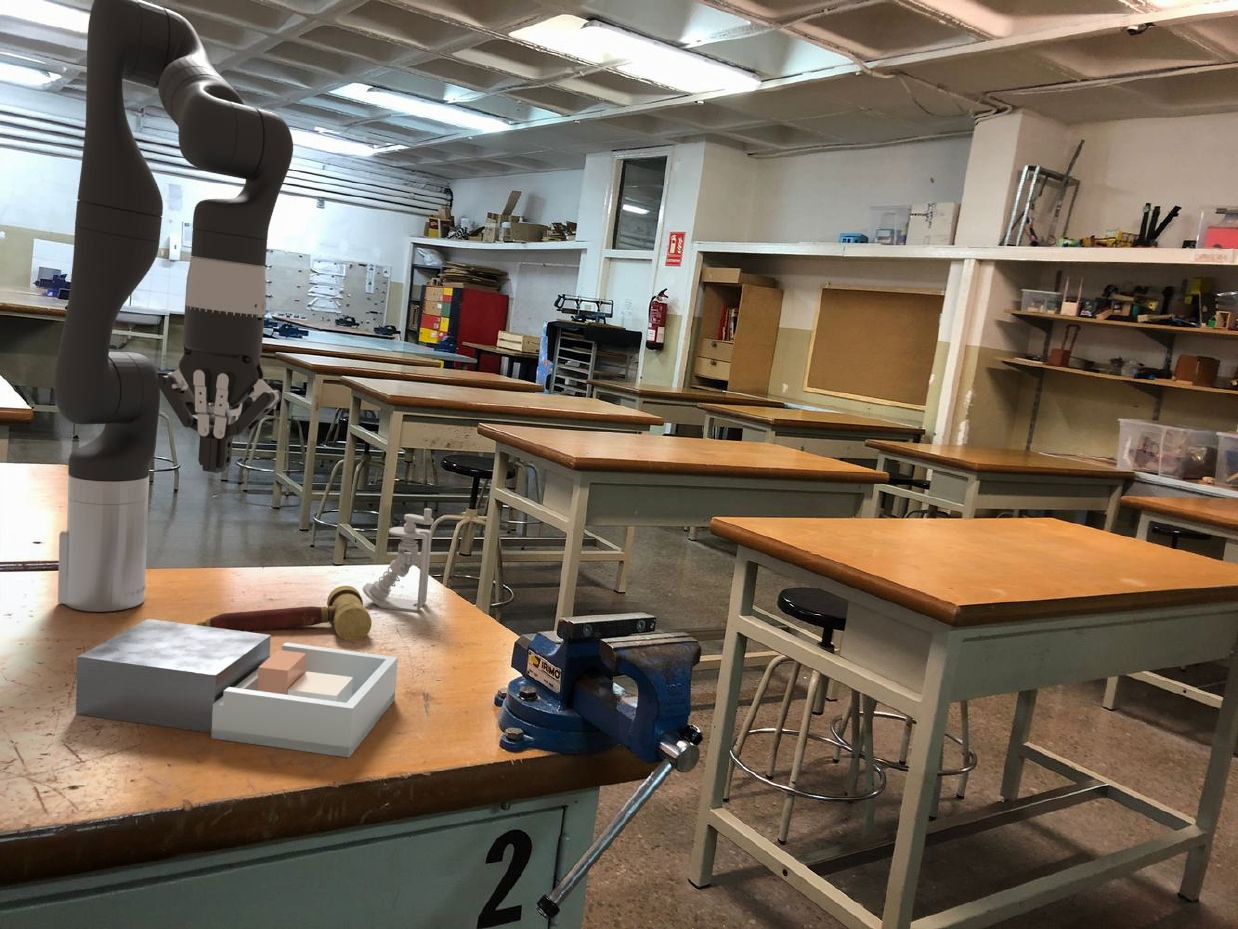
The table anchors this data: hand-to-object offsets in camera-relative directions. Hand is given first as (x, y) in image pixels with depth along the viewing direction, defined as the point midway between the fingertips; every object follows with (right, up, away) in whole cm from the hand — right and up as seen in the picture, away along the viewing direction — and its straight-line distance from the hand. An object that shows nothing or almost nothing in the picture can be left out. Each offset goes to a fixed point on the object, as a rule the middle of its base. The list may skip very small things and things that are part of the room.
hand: (214, 471), depth 97 cm
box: (+11, -26, -1) cm, 28 cm away
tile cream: (+12, -22, -2) cm, 25 cm away
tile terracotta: (+6, -22, -2) cm, 23 cm away
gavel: (-1, -21, +23) cm, 32 cm away
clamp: (+10, -20, +37) cm, 43 cm away
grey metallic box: (-4, -24, -1) cm, 24 cm away
